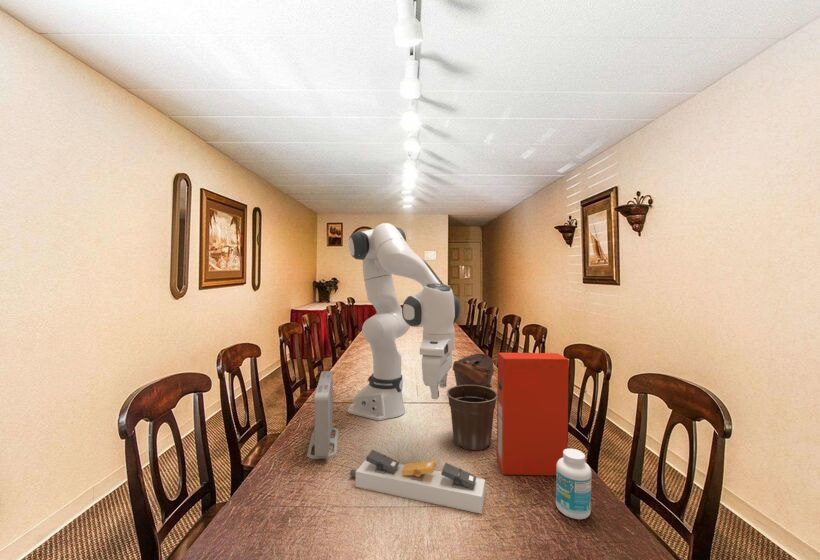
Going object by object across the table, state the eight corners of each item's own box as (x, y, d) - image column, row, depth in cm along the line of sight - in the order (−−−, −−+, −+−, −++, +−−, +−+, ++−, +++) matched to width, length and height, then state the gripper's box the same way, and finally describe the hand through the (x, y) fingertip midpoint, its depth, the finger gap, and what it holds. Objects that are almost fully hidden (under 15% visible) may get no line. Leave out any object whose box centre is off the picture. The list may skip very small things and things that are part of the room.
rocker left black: (365, 463, 91) (366, 456, 91) (370, 456, 95) (372, 449, 95) (392, 476, 89) (394, 469, 89) (397, 468, 93) (399, 461, 92)
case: (451, 404, 145) (452, 361, 145) (451, 388, 165) (452, 350, 165) (495, 407, 143) (497, 364, 143) (490, 391, 163) (491, 352, 163)
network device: (336, 463, 101) (336, 394, 101) (304, 466, 100) (304, 396, 99) (339, 424, 127) (339, 369, 126) (314, 426, 125) (314, 370, 125)
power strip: (345, 484, 91) (345, 467, 91) (357, 469, 98) (357, 454, 98) (481, 513, 81) (481, 495, 81) (484, 495, 87) (485, 477, 87)
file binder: (496, 459, 104) (497, 352, 103) (555, 460, 104) (557, 352, 103) (503, 475, 96) (504, 359, 95) (567, 476, 96) (569, 359, 95)
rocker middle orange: (403, 478, 88) (401, 470, 88) (407, 470, 92) (405, 462, 92) (433, 475, 86) (431, 467, 86) (436, 468, 89) (434, 460, 89)
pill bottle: (549, 500, 86) (550, 445, 85) (578, 498, 86) (580, 444, 86) (566, 522, 78) (567, 462, 78) (597, 520, 79) (599, 461, 78)
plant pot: (454, 456, 106) (454, 403, 105) (441, 431, 121) (441, 385, 121) (505, 452, 108) (506, 400, 108) (486, 428, 124) (486, 383, 124)
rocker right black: (440, 477, 85) (442, 469, 85) (443, 469, 89) (445, 462, 88) (472, 492, 83) (474, 484, 83) (474, 483, 86) (476, 475, 86)
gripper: (436, 335, 108) (436, 380, 108) (417, 349, 88) (418, 404, 89) (456, 336, 106) (457, 382, 106) (442, 351, 86) (442, 407, 87)
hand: (439, 392), depth 97 cm, fingers open, 8 cm apart
